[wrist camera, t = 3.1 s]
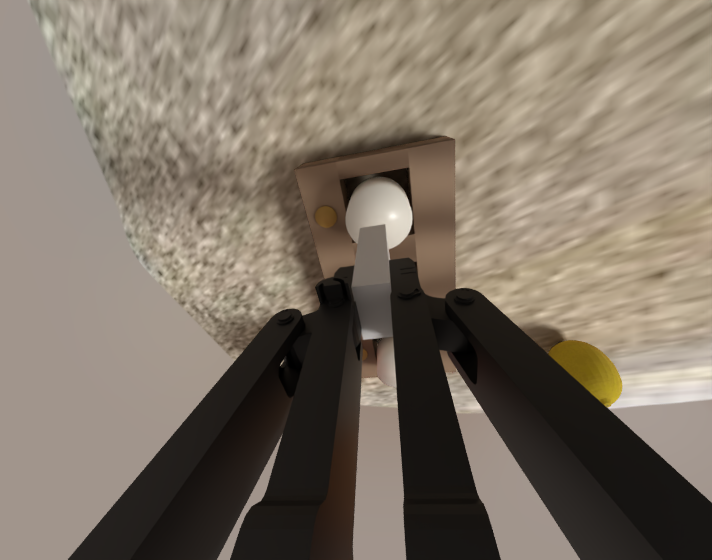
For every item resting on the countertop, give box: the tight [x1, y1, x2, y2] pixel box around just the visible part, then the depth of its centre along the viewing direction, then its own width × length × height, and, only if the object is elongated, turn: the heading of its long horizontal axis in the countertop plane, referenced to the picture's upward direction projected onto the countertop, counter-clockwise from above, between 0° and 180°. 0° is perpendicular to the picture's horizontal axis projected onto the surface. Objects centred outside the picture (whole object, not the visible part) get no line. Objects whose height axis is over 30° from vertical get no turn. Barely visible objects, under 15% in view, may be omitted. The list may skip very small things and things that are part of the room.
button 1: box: [345, 177, 412, 249], centre depth 22 cm, size 5×5×3 cm
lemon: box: [548, 340, 622, 407], centre depth 29 cm, size 6×6×8 cm
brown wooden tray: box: [294, 136, 456, 378], centre depth 28 cm, size 24×12×3 cm, turn 10°
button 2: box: [377, 337, 397, 388], centre depth 30 cm, size 5×5×3 cm
